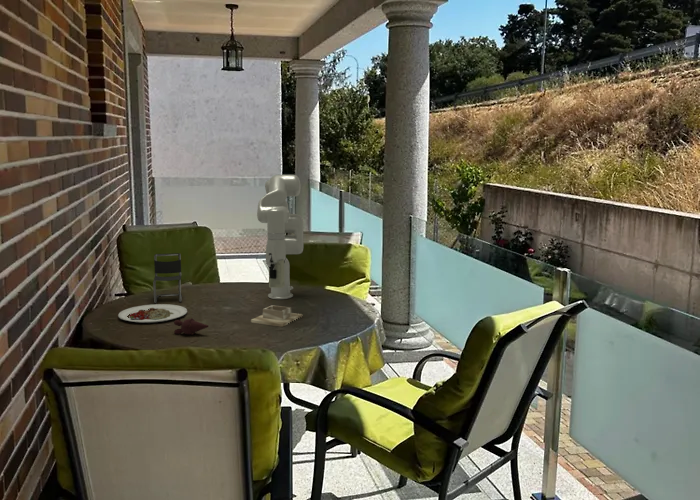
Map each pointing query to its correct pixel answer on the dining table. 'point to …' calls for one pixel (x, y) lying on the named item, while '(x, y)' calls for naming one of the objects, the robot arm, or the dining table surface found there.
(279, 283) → the skincare box
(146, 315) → the plated food
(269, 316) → the socket stand
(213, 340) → the dining table surface
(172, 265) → the chair
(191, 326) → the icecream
